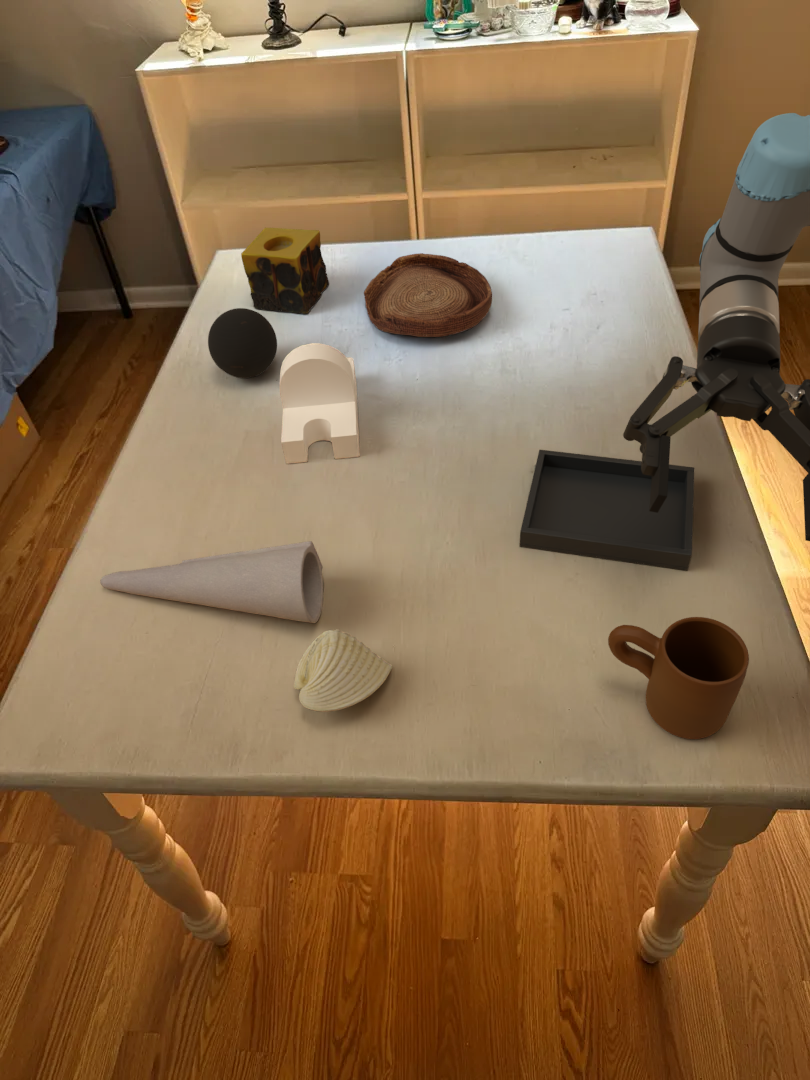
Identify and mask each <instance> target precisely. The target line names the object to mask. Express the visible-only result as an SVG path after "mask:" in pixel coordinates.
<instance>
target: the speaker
mask: <svg viewBox="0 0 810 1080" xmlns="http://www.w3.org/2000/svg"><path fill="white" fill-rule="evenodd" d="M207 346H208V347H207V348H208V352H209V354H210V357H211V359H212V361H213V362H214V363H215V366H217V368H219V369H220V370H221V371H222V372H224V373H226V374H227V375H228V376H231V377H234V378H237V379H238V378H239V379H249V378H254V377H258V376H259V375H261V374H263V373H264V372H265V371H267V370H268V369H269V368H270V366H271V365H272V364H273V362H274V360H275V358H276V356H277V351H278V338H277V335H276V332H275V329H274V327H273V325H272V323H270V321H269V319H267V318H266V317H265V316H264V315H262V314H261V313H259V312H258V311H256V310H253V309H250V308H246V307H245V308H243V307H239V308H238V307H236V308H231V309H229V310H226V311H224V312H222V313H221V314H220V315H219V316H218V317H216V319H215V320H214V321H213V323H212V324H211V327H210V328H209V331H208V336H207Z"/></svg>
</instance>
